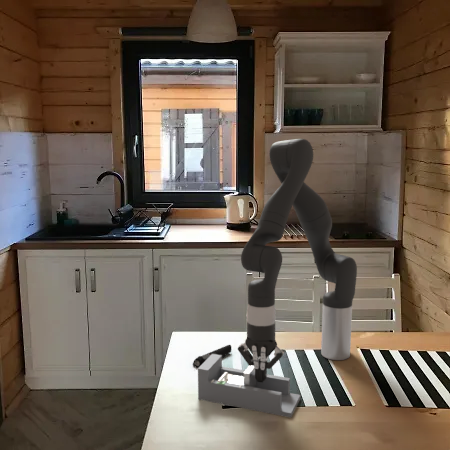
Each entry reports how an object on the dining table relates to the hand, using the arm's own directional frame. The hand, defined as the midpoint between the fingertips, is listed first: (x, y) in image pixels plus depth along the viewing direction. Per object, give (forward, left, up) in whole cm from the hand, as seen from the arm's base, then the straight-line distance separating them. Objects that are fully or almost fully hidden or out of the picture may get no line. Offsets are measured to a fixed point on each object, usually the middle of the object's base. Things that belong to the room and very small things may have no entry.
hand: (260, 380), depth 144 cm
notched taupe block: (0, -6, -5) cm, 7 cm away
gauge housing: (0, -3, -6) cm, 7 cm away
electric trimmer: (-20, -22, -7) cm, 30 cm away
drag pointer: (+1, -10, -5) cm, 11 cm away
